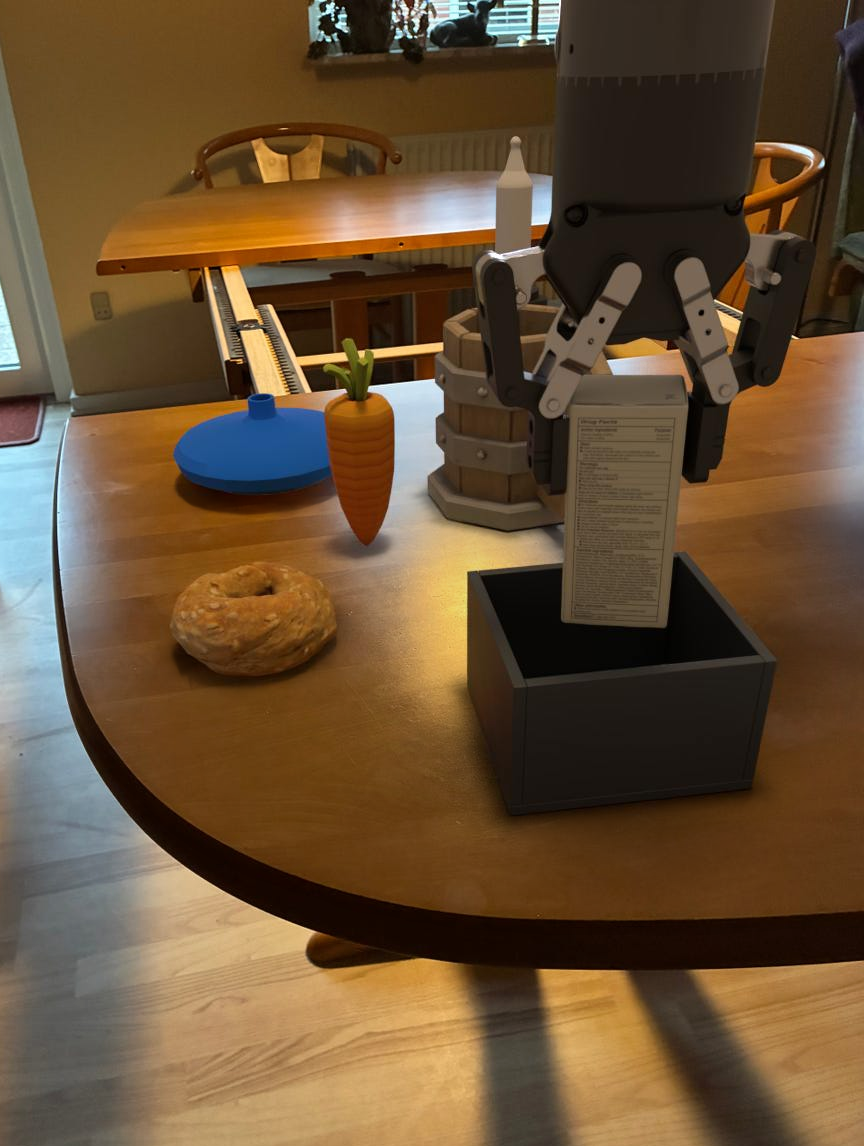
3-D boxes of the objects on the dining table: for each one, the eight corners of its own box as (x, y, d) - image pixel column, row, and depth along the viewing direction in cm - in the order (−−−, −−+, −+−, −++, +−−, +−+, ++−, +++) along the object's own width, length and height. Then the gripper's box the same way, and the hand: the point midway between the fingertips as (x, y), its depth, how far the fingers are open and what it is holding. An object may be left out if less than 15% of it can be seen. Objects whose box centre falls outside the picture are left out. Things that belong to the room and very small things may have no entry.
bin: (670, 665, 58) (685, 550, 54) (752, 788, 48) (778, 660, 44) (466, 686, 57) (466, 571, 53) (509, 816, 48) (514, 687, 44)
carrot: (394, 562, 71) (384, 353, 63) (327, 559, 71) (309, 353, 64) (404, 532, 75) (397, 333, 67) (341, 529, 76) (326, 332, 68)
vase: (181, 525, 77) (166, 440, 74) (175, 455, 91) (163, 379, 87) (376, 501, 80) (372, 417, 76) (343, 436, 93) (338, 361, 89)
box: (666, 588, 50) (692, 372, 44) (667, 632, 46) (696, 404, 40) (561, 581, 51) (573, 370, 45) (554, 623, 47) (567, 400, 42)
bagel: (377, 633, 62) (373, 566, 60) (239, 708, 56) (228, 637, 54) (278, 583, 69) (271, 521, 66) (144, 646, 62) (130, 580, 60)
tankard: (415, 477, 84) (410, 296, 76) (553, 458, 86) (562, 280, 78) (495, 584, 67) (499, 367, 59) (663, 556, 70) (689, 344, 62)
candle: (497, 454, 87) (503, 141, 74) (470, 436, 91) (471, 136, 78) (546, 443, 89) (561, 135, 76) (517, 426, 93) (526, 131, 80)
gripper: (489, 75, 33) (484, 532, 41) (901, 51, 34) (810, 502, 43) (450, 68, 39) (453, 466, 48) (798, 48, 40) (738, 441, 49)
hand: (622, 481), depth 45 cm, fingers closed on box, 6 cm apart
